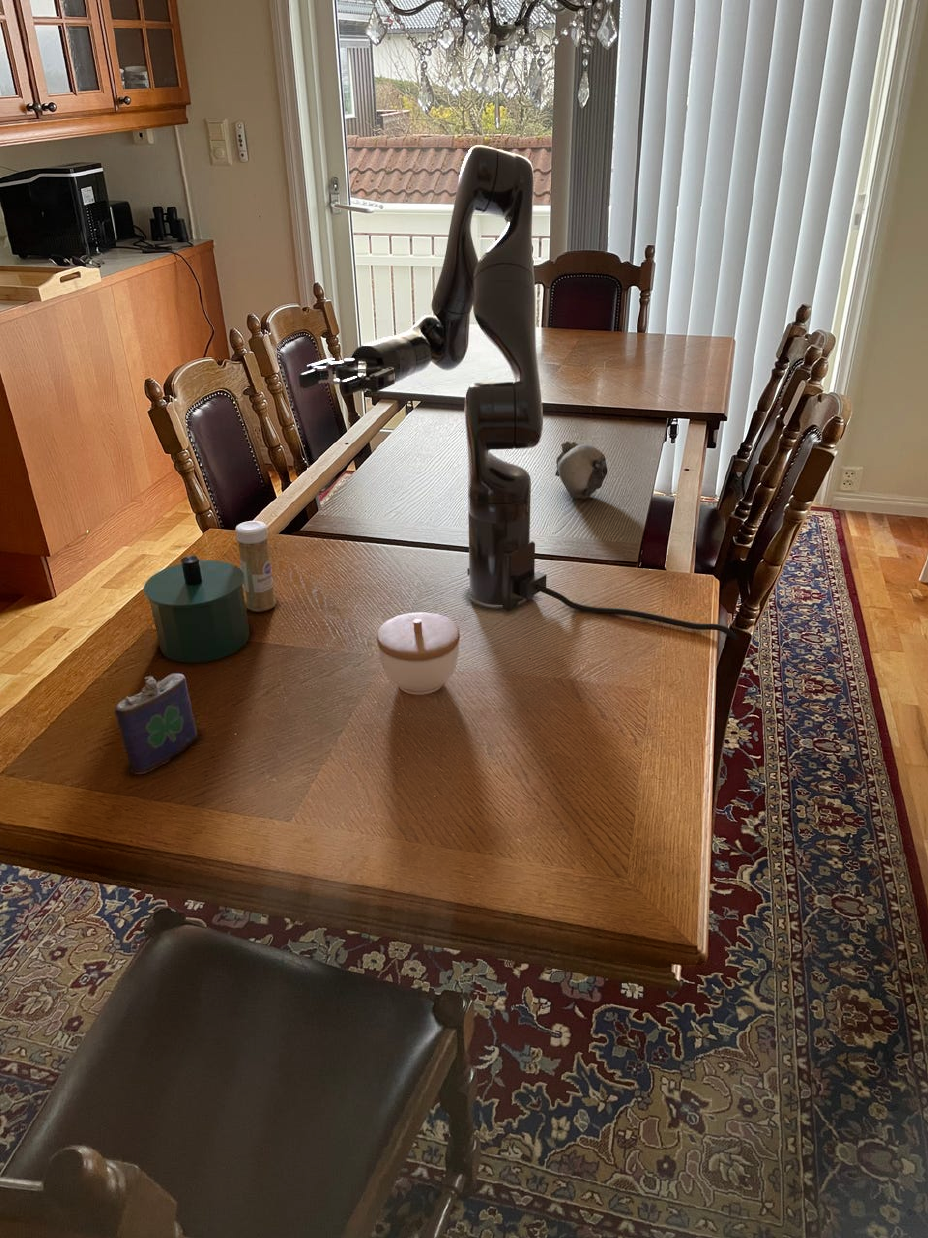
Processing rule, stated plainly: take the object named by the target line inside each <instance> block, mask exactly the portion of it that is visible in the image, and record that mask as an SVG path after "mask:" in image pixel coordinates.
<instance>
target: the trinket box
mask: <svg viewBox="0 0 928 1238" xmlns="http://www.w3.org/2000/svg"><path fill="white" fill-rule="evenodd" d="M460 633H461V632H460V628H459V626H458V624H457V623H456V622H455V621H453V620H452V619H450V617H447V616H444V615H442V614H439V613H433V612H423V611H419V612H408V613H403V614H400V615H396V616H394V617H392V618H389V619H388V620H386V621H385V622H384V623H382V624H381V626H380V627H379V628H378V630H377V632H376V643H377V647H378V655H379V660H380V664H381V666H382V669H383V671H384V673H385V675H386V677H388V679H389V680H390V682H392V683H393V684H394V685H396V686H397V687H398V688H399V689H400V690H401V691H402V692H404V693H407V694H409V695H414V696H423V695H430V694H432V693H435V692H437V691H439V690H440V689H441V688H442V686H443V685H445V683H447V682H448V680H450V679H451V677H452V675H453V674H454V672H455V670H456V667H457V663H458V661H459V654H460V640H461V639H460V638H461V635H460Z"/></svg>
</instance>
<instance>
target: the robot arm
mask: <svg viewBox="0 0 928 1238" xmlns="http://www.w3.org/2000/svg"><path fill="white" fill-rule="evenodd" d="M534 175H535V174H534V167H533V165H532V163H531V161H530V160H529V159H528V158H527V157H525V156H522V155H520V154H517V153H513V152H509V151H506V150H502V149H498V148H495V147H490V146H488V145H487V146H486V145H481V144H478V145H474V146H472V147H471V148H470V149H469V150H468V153H467V154H466V156H465V158H464V161H463V164H462V167H461V171H460V174H459V177H458V183H457V187H456V193H455V198H454V203H453V209H452V214H451V219H450V224H449V231H448V237H447V243H446V250H445V254H444V258H443V263H442V268H441V271H440V274H439V278H438V281H437V283H436V287H435V290H434V293H433V297H432V300H431V310H432V313H433V314H427V315H424V316H421V318H419V319H418V321H417V322H416V323H415V324H413V326H411V327H410V328H409V329H408V330H406V331H405V332H402V333H400V334H397V335H394V336H388V337H383V338H381V339H377V340H374V341H372V342H368V343H365V344H363V345H360V346H358V347H356V348H355V349H354V351H353V353H352V355H351V357H350V358H343V360H339V361H335V360H336V359H335V358H333V357H329V358H326V359H322V360H320V361H316V362H313V363H310V364H307V365H306V369H307V371H305V372H302V373H299V375H298V382H299V387H300V388H301V389H307V388H310V387H313V386H316V385H319V384H325V383H326V384H327V383H328V384H329V385H330V386H335V385H339V388H340V389H339V390H340V395H341V396H345V397H347V396H349V395H352V394H356V393H358V392H362V393H363V392H364V393H365V392H367V391H370V392H372V393H377V392H379V391H381V390H384V389H386V388H389V387H390V386H393V385H394V384H396V383H398V382H401V381H403V380H405V379H406V378H407V377H409V376H412V375H415V374H418V373H419V372H422V371H424V370H425V369H426V368H428V367H429V365H430V364H431V363H432V364H434V365H435V366H436V367H438V368H439V369H441V370H443V371H452V370H455V369H456V368H458V367H459V366H460V365H461V364H462V362H463V361H464V359H465V358H466V354H467V351H468V347H469V339H470V338H469V336H470V322H471V321H470V319H471V318H470V317H471V311H473V315H474V318H475V321H476V323H477V325H478V326H479V328H480V330H481V332H482V333H483V334H484V335H485V336H486V338H487V339H488V340H489V341H490V343H491V344H492V345H493V346H494V347H495V349H496V350H497V351H498V352H499V353H500V354H501V356H502V358H503V359H505V361H506V363H507V364H508V366H509V368H510V371H511V373H512V375H513V378H514V381H503V382H502V381H499V382H498V381H497V382H496V381H495V382H494V381H493V382H476V383H472V384H470V385H469V387H468V388H467V390H466V393H465V396H464V426H465V438H466V451H467V452H466V454H467V508H468V509H467V522H468V523H467V524H468V526H467V527H468V528H467V530H468V568H467V570H466V571H467V576H469V589H468V597H469V599H470V601H471V602H473V603H474V604H475V605H477V606H479V607H482V608H486V609H490V610H503V611H505V612H511V611H513V610H514V609H516V608H518V607H520V606H522V605H524V604H525V603H527V602H528V601H530V600H532V599H533V598H534V597H535V595H537V594H539V593H540V592H541V593H543V594H544V595H545V594H546V595H548V596H550V597H552V598H555V599H557V601H560V602H561V603H563V604H564V605H565V606H567V607H568V608H571V609H574V610H577V611H580V612H587V613H594V614H603V615H620V616H629V617H633V618H640V619H645V620H649V621H654V622H659V623H663V624H667V625H672V626H676V627H680V628H686V629H691V630H698V631H699V630H700V631H718V632H721V633H723V634H725V635H726V636H727V637H728V638H730V639H731V640H738V639H739V638H738V637H739V636H737V634H736V633H735V632H734V631H733V630H732V629H731V628H729V627H727V626H726V625H723V624H719V623H699V622H697V623H696V622H691V621H686V620H681V619H677V618H676V619H675V618H673V617H668V616H662V615H659V614H653V613H649V612H645V611H639V610H634V609H626V608H617V607H615V608H613V607H600V606H599V607H598V606H589V605H584V604H581V603H576V602H574V601H572V600H570V599H569V598H567V597H566V596H565V595H563V594H561V593H560V592H558V591H556V590H553V589H551V588H549V587H547V576H548V575H547V574H546V573H543V572H541V571H539V570H536V567H535V565H536V543H535V542H534V541H533V540H531V502H532V501H531V499H532V498H531V497H532V496H531V495H532V493H531V492H532V478H531V476H530V474H529V472H528V471H527V470H526V469H525V468H523V467H521V466H519V465H516V464H513V463H510V462H508V461H506V460H503V459H501V458H499V457H497V456H496V455H494V454H493V453H492V452H491V450H493V451H494V450H495V451H496V450H526V449H527V450H528V449H532V448H535V447H536V446H538V444H539V443H540V441H541V438H542V435H543V429H544V428H543V427H544V412H543V410H544V409H543V399H542V390H541V381H540V373H539V364H538V353H537V339H536V338H537V337H536V336H537V335H536V334H537V333H536V331H537V330H536V328H537V327H536V326H537V325H536V324H537V323H536V319H537V318H536V313H537V312H536V284H535V282H536V281H535V272H534V260H533V258H534V257H533V214H534V213H533V212H534V189H535V177H534ZM474 212H477V213H482V214H486V215H490V216H495V217H498V218H502V219H504V220H505V223H506V227H505V229H504V230H503V232H502V233H501V235H500V236H499V237H498V239H497V240H495V242H493V244H492V245H491V246H490V247H489V248H488V249H487V250H486V252H485V253H484V254H483V255H482V256H481V258H480V259H479V258H478V254H477V251H476V247H475V244H474V239H473V234H472V221H473V220H472V219H473V215H474ZM472 309H473V310H472ZM335 375H336V377H337V378H335V379H334V376H335ZM535 570H536V571H535Z"/></svg>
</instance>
